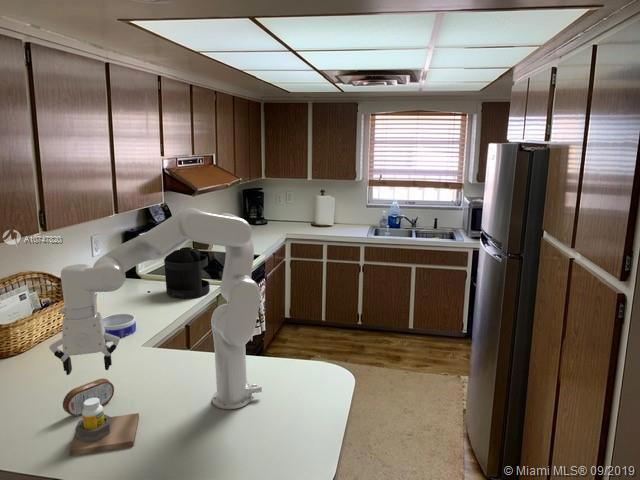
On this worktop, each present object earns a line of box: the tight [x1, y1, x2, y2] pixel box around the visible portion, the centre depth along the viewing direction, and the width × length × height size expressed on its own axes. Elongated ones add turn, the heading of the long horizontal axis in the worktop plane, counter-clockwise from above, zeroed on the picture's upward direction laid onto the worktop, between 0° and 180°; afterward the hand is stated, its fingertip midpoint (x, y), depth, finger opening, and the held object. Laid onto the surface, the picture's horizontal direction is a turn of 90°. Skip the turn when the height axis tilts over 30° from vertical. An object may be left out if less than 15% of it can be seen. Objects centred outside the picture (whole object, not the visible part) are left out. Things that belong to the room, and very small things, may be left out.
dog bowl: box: [102, 313, 137, 339], centre depth 207 cm, size 15×15×6 cm
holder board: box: [68, 412, 140, 457], centre depth 134 cm, size 16×14×4 cm
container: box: [163, 246, 211, 299], centre depth 258 cm, size 22×23×25 cm
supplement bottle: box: [81, 398, 105, 430], centre depth 133 cm, size 5×5×10 cm
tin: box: [62, 378, 115, 417], centre depth 147 cm, size 15×3×8 cm, turn 141°
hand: (88, 370), depth 130 cm, fingers open, 9 cm apart
